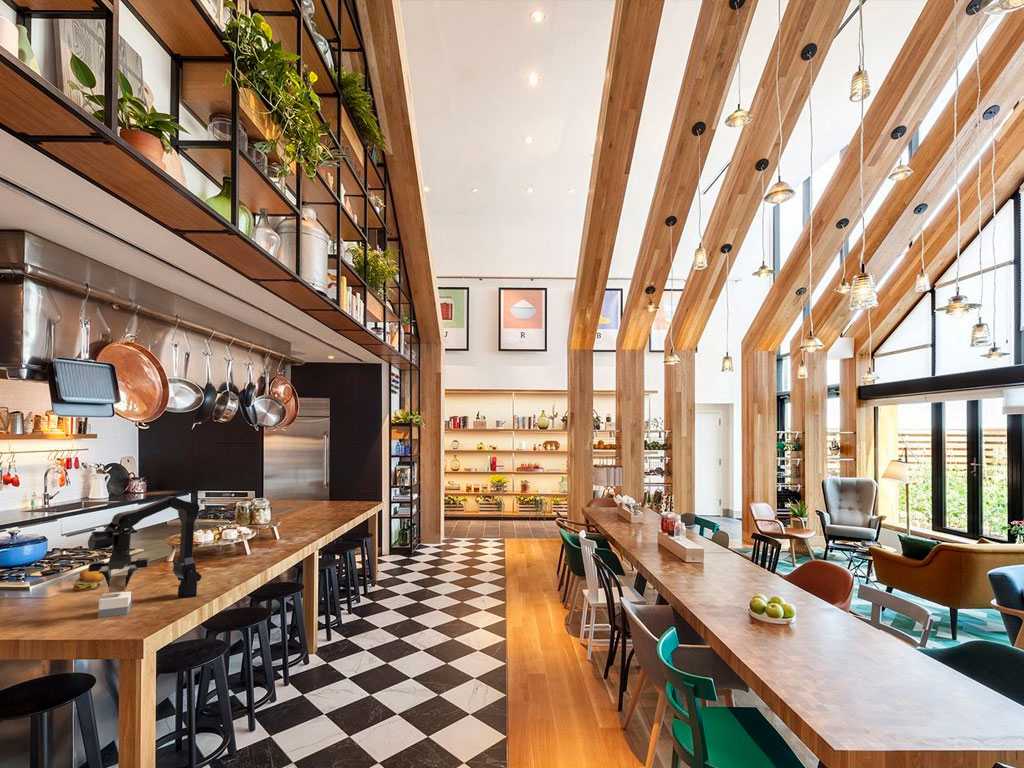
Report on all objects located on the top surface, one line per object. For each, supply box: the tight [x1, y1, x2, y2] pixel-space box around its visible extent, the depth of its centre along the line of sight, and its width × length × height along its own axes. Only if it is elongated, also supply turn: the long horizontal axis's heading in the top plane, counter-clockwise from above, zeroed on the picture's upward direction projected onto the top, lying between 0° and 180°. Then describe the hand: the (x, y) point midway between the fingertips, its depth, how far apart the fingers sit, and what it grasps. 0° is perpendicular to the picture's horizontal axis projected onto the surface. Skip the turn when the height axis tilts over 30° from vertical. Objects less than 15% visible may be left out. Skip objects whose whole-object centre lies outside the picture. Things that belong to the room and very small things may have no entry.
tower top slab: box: [98, 590, 132, 611], centre depth 210 cm, size 9×9×4 cm
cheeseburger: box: [72, 567, 105, 592], centre depth 243 cm, size 10×11×10 cm
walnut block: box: [107, 574, 128, 594], centre depth 211 cm, size 5×5×5 cm
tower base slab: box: [97, 599, 132, 619], centre depth 210 cm, size 9×9×4 cm
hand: (117, 587), depth 211 cm, fingers closed on walnut block, 5 cm apart
